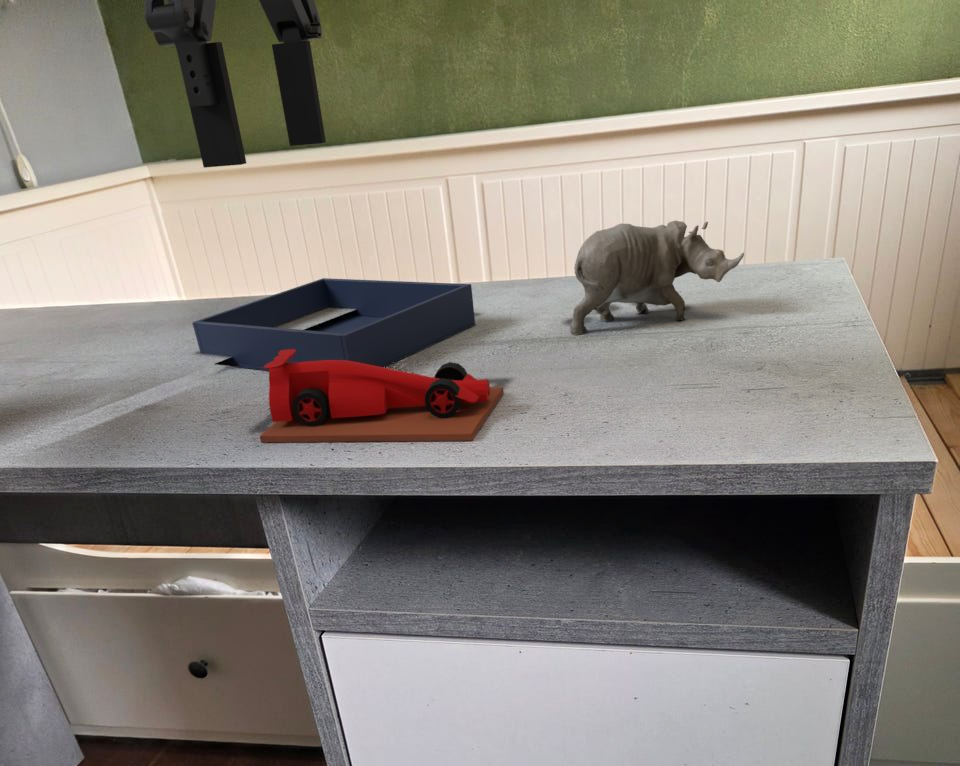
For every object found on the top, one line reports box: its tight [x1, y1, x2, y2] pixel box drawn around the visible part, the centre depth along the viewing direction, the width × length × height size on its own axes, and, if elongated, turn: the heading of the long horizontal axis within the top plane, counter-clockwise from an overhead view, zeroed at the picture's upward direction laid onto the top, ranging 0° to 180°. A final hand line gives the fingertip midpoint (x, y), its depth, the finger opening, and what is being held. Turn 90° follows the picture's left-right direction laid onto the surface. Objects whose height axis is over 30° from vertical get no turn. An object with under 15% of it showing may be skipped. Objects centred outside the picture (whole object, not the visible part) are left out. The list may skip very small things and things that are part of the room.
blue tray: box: [191, 277, 476, 372], centre depth 95 cm, size 22×20×4 cm
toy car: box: [264, 349, 491, 426], centre depth 72 cm, size 6×18×5 cm, turn 83°
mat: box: [259, 386, 505, 443], centre depth 74 cm, size 18×11×1 cm, turn 76°
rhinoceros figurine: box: [569, 220, 745, 336], centre depth 89 cm, size 8×14×15 cm
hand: (270, 154), depth 62 cm, fingers open, 13 cm apart
